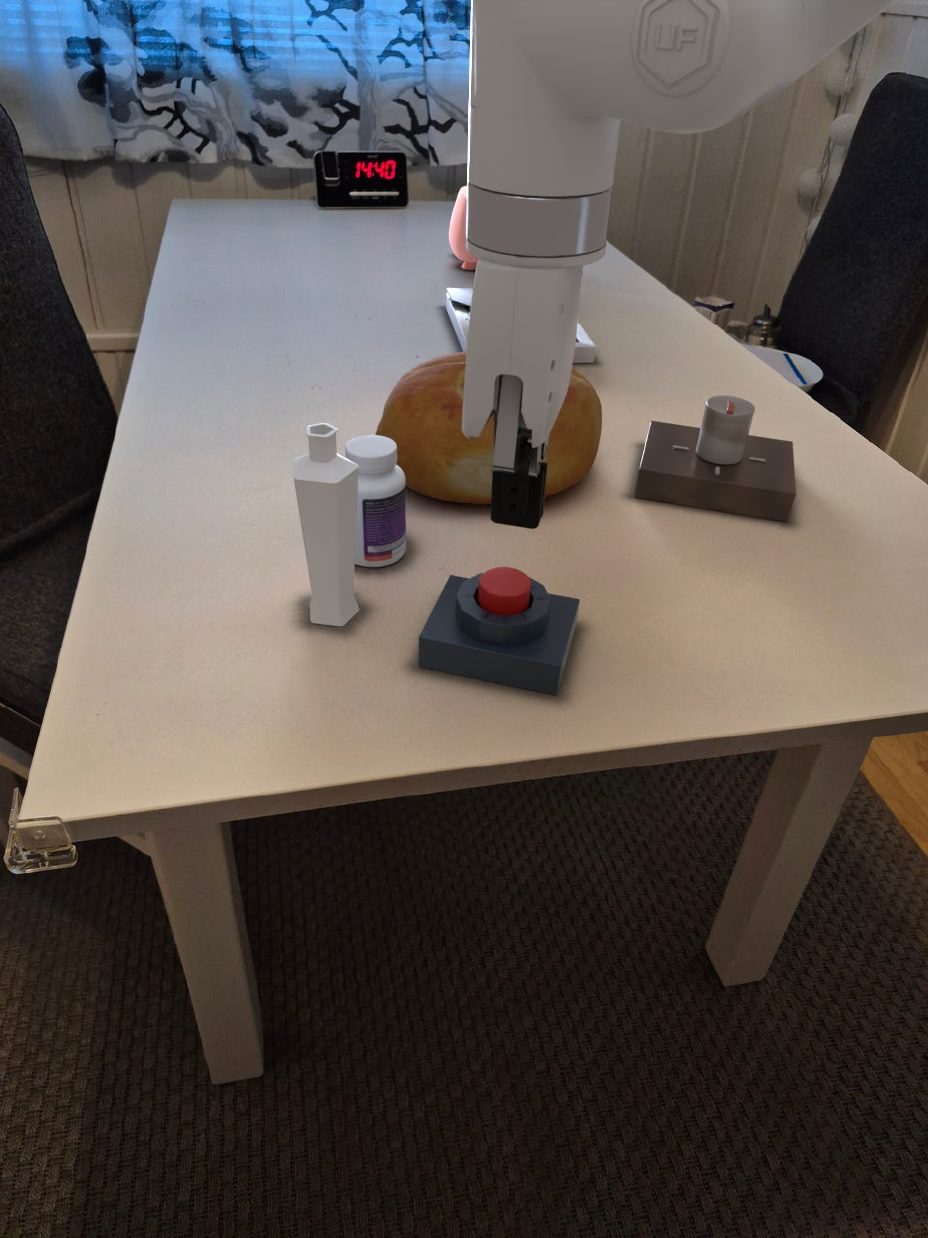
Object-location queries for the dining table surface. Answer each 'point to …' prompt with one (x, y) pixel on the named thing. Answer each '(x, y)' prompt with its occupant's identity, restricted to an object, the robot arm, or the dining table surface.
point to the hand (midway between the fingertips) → (516, 519)
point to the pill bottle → (378, 501)
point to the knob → (724, 429)
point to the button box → (499, 637)
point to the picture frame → (460, 314)
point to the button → (504, 591)
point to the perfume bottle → (328, 524)
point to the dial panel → (717, 474)
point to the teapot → (461, 231)
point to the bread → (463, 467)
